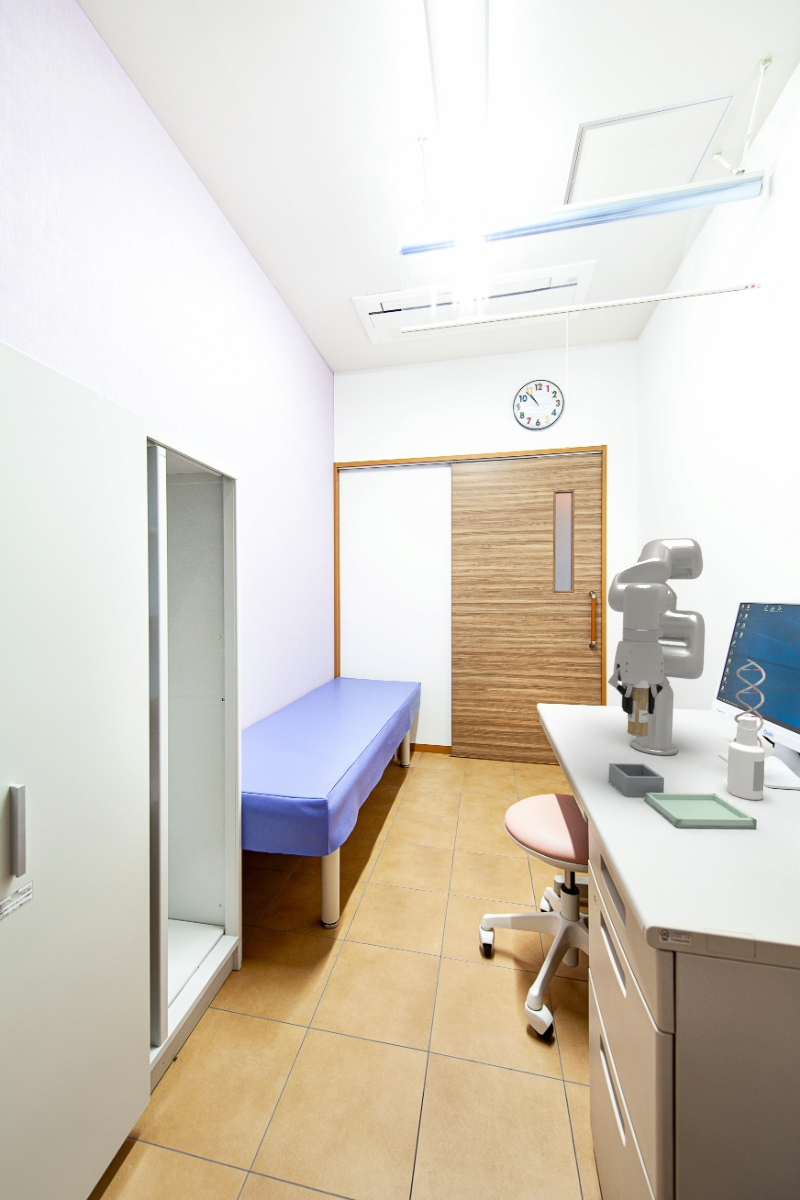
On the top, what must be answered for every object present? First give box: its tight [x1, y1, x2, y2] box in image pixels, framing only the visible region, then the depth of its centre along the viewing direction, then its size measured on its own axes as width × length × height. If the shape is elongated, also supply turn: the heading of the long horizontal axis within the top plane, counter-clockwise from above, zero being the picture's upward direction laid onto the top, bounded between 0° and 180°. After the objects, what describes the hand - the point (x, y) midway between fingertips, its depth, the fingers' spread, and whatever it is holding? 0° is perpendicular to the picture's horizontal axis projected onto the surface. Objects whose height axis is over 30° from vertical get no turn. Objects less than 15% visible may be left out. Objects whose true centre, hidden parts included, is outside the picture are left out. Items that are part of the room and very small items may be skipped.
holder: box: [608, 762, 665, 798], centre depth 111 cm, size 9×9×4 cm
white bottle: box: [726, 715, 766, 801], centre depth 109 cm, size 7×7×18 cm
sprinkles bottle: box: [626, 681, 650, 737], centre depth 111 cm, size 5×5×13 cm
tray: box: [644, 792, 758, 830], centre depth 99 cm, size 12×16×2 cm
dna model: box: [733, 658, 766, 748], centre depth 120 cm, size 7×6×30 cm
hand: (637, 711), depth 111 cm, fingers closed on sprinkles bottle, 4 cm apart
